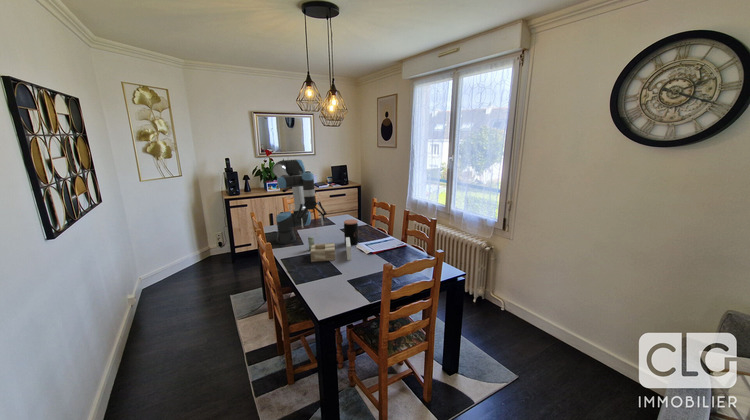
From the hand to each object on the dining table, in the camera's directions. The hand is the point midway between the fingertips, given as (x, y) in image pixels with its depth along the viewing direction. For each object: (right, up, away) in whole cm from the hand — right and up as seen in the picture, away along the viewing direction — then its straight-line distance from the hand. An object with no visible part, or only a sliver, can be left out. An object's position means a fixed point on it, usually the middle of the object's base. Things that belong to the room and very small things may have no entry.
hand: (312, 226), depth 199 cm
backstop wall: (+24, -21, +7) cm, 32 cm away
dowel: (-4, -19, +17) cm, 25 cm away
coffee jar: (+25, -15, +28) cm, 40 cm away
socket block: (+7, -21, +5) cm, 23 cm away
